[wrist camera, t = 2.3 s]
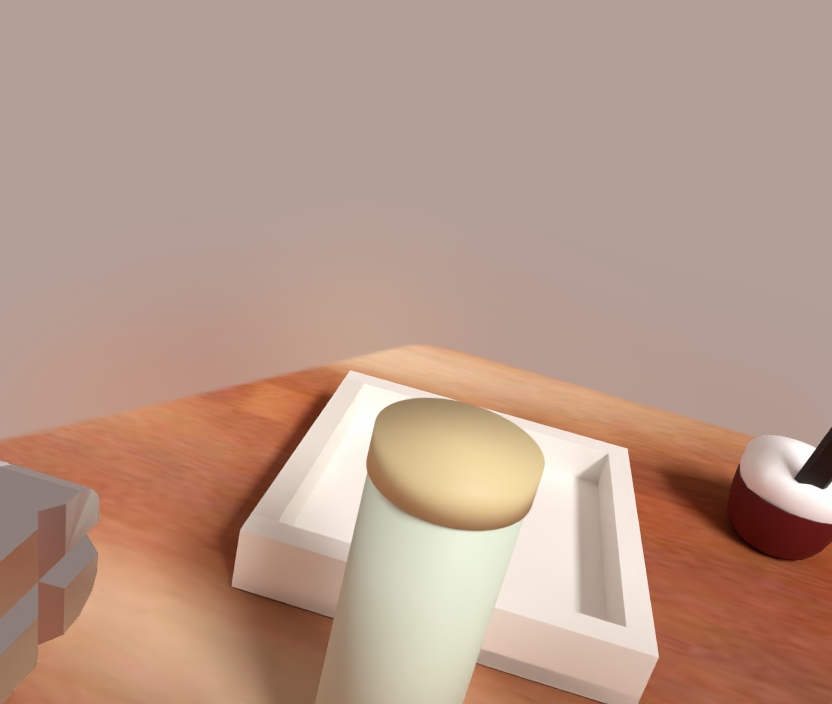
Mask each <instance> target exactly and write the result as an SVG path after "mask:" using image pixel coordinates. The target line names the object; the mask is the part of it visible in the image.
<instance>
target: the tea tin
mask: <svg viewBox="0 0 832 704" xmlns="http://www.w3.org/2000/svg"><path fill="white" fill-rule="evenodd" d="M544 467H545V459H544V456H543V453H542V451H541V449H540V447H539V446H538V444H537V443H536V442H535V440H534V439H533V438H532V437H531V436H530V435H529V434H527V433H526V432H525V431H524V430H523V429H521V428H520V427H519V426H517V425H516V424H514V423H513V422H511V421H509V420H508V419H506V418H504V417H502V416H500V415H498V414H496V413H493V412H491V411H489V410H486V409H483V408H481V407H478V406H475V405H471V404H468V403H464V402H460V401H454V400H449V399H441V398H412V399H406V400H401V401H398V402H395V403H392V404H390V405H388V406H387V407H385V408H384V409H383V410H381V411H380V413H379V414H378V415H377V417H376V420H375V423H374V428H373V432H372V437H371V441H370V446H369V450H368V454H367V460H366V468H367V475H366V479H365V484H364V488H363V493H362V497H361V501H360V506H359V510H358V515H357V519H356V523H355V528H354V532H353V537H352V541H351V545H350V550H349V554H348V559H347V563H346V568H345V572H344V576H343V581H342V585H341V590H340V594H339V598H338V603H337V607H336V612H335V616H334V620H333V625H332V629H331V634H330V638H329V642H328V647H327V651H326V656H325V660H324V664H323V669H322V673H321V678H320V682H319V686H318V691H317V695H316V700H315V704H463V701H464V698H465V695H466V692H467V689H468V686H469V683H470V680H471V677H472V674H473V671H474V668H475V665H476V662H477V659H478V656H479V653H480V650H481V647H482V644H483V641H484V638H485V635H486V632H487V629H488V626H489V623H490V620H491V617H492V614H493V611H494V608H495V604H496V601H497V598H498V595H499V592H500V589H501V586H502V583H503V580H504V577H505V574H506V571H507V568H508V565H509V562H510V559H511V556H512V553H513V550H514V547H515V544H516V541H517V538H518V535H519V532H520V529H521V526H522V523H523V520H524V517H525V516H526V515H527V514H528V513H529V511H530V509H531V507H532V504H533V501H534V498H535V495H536V492H537V489H538V486H539V483H540V480H541V477H542V474H543V471H544Z"/></svg>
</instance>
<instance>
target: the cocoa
mask: <svg viewBox="0 0 832 704" xmlns="http://www.w3.org/2000/svg"><path fill="white" fill-rule="evenodd" d="M728 515H729V518H730V521H731V523H732V525H733V526H734V528H735V530H736V532H737V533H738V534H739V535H740V536H741V538H742V539H744V540H745V541H746V542H747V543H748V544H749V545H750V546H752V547H753V548H755V549H757V550H759V551H761V552H762V553H764V554H766V555H769V556H772V557H775V558H779V559H792V560H803V559H806V558H809V557H811V556H813V555H815V554H817V553H819V552H821V551H822V550H823V549H824V548H825V547H826V546H827V545H828V544H830V543H831V541H832V428H831V429H830V430H829V432H828V433H827V434H826V436H825V437H824V439H823V440H822V441H821V443H820V444H819V445H818V447H817V448H815V447H813V446H811V445H808V444H806V443H803V442H801V441H798V440H795V439H791V438H787V437H782V436H778V435H777V436H772V435H765V434H764V435H762V436H759V437H757V438H755V439H753V440H750V441H749V443H748V445H747V447H746V449H745V452H744V454H743V456H742V458H741V461H740V464H739V465H738V468H737V470H736V473H735V476H734V478H733V482H732V486H731V491H730V496H729V502H728Z"/></svg>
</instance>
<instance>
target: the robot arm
mask: <svg viewBox="0 0 832 704" xmlns="http://www.w3.org/2000/svg"><path fill="white" fill-rule="evenodd" d="M98 522H99V496H98V495H97V494H96V492H95V491H94V490H93V489H92V488H89V487H86V486H83V485H79V484H76V483H73V482H70V481H66V480H63V479H60V478H57V477H53V476H50V475H47V474H44V473H40V472H37V471H34V470H31V469H28V468H24V467H21V466H18V465H15V464H12V465H11V464H9V463H6V462H3V461H0V704H3V703H4V701H5V700H6V699H7V698H8V697H9V696H10V695H11V694H12V692H13V691H14V690H15V689H16V688H17V687H18V686H19V684H20V683H21V682H22V681H23V680H24V679H25V678H26V677H27V675H28V674H29V673H30V672H31V671H32V670H33V669H34V667H35V666H36V665H37V659H38V645H39V644H41V643H44V642H46V641H49V640H51V639H53V638H56V637H58V636H61V635H63V634H64V633H65V632H66V631H67V629H68V628H69V627H70V626H71V625H72V623H73V622H74V621H75V620H76V619H77V617H78V616H79V615H80V613H81V611H82V609H83V607H84V605H85V603H86V601H87V599H88V597H89V595H90V593H91V591H92V588H93V584H94V580H95V576H96V572H97V560H98V552H97V551H96V549H95V547H94V546H93V544H92V542H91V541H90V539H89V537H88V536H87V533H88V532H89V531H90V530H91V529H92V528H93V527H94V526H95V525H96V524H97V523H98Z"/></svg>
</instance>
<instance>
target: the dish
mask: <svg viewBox="0 0 832 704" xmlns="http://www.w3.org/2000/svg"><path fill="white" fill-rule="evenodd" d="M412 398H441V399H449V400H453V399H450V398H446V397H443V396H439V395H436V394H432V393H429V392H425V391H421V390H418V389H414V388H411V387H407V386H404V385H400V384H397V383H393V382H390V381H386V380H383V379H379V378H375V377H372V376H368V375H365V374H361V373H358V372H354V371H351V370H350V372H349V373H348V375H347V376H346V378H345V379H344V380H343V382H342V383H341V385H340V386H339V388H338V389H337V391H336V392H335V393H334V395H333V396H332V398H331V399H330V401H329V402H328V403H327V405H326V406H325V408H324V409H323V411H322V412H321V414H320V415H319V416H318V418H317V419H316V421H315V422H314V424H313V425H312V427H311V428H310V429H309V431H308V432H307V434H306V435H305V437H304V438H303V440H302V441H301V442H300V444H299V445H298V447H297V448H296V450H295V451H294V453H293V454H292V455H291V457H290V458H289V460H288V461H287V463H286V464H285V466H284V467H283V468H282V470H281V471H280V473H279V474H278V476H277V477H276V479H275V480H274V481H273V483H272V484H271V486H270V487H269V489H268V490H267V492H266V493H265V494H264V496H263V497H262V499H261V500H260V502H259V503H258V504H257V506H256V507H255V509H254V510H253V512H252V513H251V515H250V516H249V517H248V519H247V520H246V522H245V523H244V525H243V526H242V528H241V529H240V534H239V540H238V547H237V553H236V560H235V566H234V572H233V579H232V585H231V586H232V587H235V588H238V589H241V590H245V591H248V592H251V593H254V594H257V595H261V596H264V597H267V598H270V599H273V600H277V601H280V602H283V603H286V604H289V605H293V606H296V607H299V608H302V609H305V610H309V611H312V612H315V613H318V614H321V615H325V616H328V617H331V618H334V616H335V612H336V607H337V603H338V598H339V594H340V590H341V585H342V581H343V576H344V572H345V568H346V563H347V559H348V554H349V550H350V545H351V541H352V537H353V532H354V528H355V523H356V519H357V515H358V510H359V506H360V501H361V497H362V493H363V488H364V484H365V479H366V475H367V468H366V460H367V454H368V450H369V446H370V441H371V437H372V432H373V428H374V423H375V420H376V417H377V415H378V414H379V413H380V411H381V410H383V409H384V408H385V407H387V406H388V405H390V404H392V403H395V402H398V401H401V400H406V399H412ZM454 401H457V400H454ZM481 408H482V407H481ZM483 409H485V408H483ZM486 410H489V409H486ZM489 411H491V412H493V413H496V414H498V415H500V416H502V417H504V418H506V419H508V420H509V421H511V422H513V423H514V424H516V425H517V426H519V427H520V428H521V429H523V430H524V431H525V432H526V433H527V434H529V435H530V436H531V437H532V438H533V439H534V440H535V442H536V443H537V444H538V446H539V447H540V449H541V451H542V453H543V456H544V459H545V467H544V471H543V474H542V477H541V480H540V483H539V486H538V489H537V492H536V495H535V498H534V501H533V504H532V507H531V509H530V511H529V513H528V514H527V515H526V516H525V517H524V520H523V523H522V526H521V529H520V532H519V535H518V538H517V541H516V544H515V547H514V550H513V553H512V556H511V559H510V562H509V565H508V568H507V571H506V574H505V577H504V580H503V583H502V586H501V589H500V592H499V595H498V598H497V601H496V604H495V608H494V611H493V614H492V617H491V620H490V623H489V626H488V629H487V632H486V635H485V638H484V641H483V644H482V647H481V650H480V653H479V656H478V659H477V662H476V663H478V664H481V665H484V666H487V667H491V668H494V669H497V670H500V671H503V672H507V673H510V674H513V675H516V676H519V677H523V678H526V679H529V680H532V681H535V682H539V683H542V684H545V685H548V686H551V687H555V688H558V689H561V690H564V691H567V692H571V693H574V694H577V695H580V696H583V697H587V698H590V699H593V700H596V701H599V702H603V703H606V704H638V702H639V700H640V698H641V695H642V693H643V691H644V689H645V687H646V684H647V682H648V680H649V678H650V676H651V673H652V671H653V669H654V667H655V665H656V662H657V660H658V658H659V656H658V649H657V642H656V636H655V629H654V622H653V616H652V609H651V603H650V596H649V589H648V583H647V576H646V569H645V563H644V556H643V549H642V543H641V536H640V529H639V523H638V516H637V509H636V503H635V496H634V489H633V483H632V476H631V469H630V463H629V456H628V449H627V448H623V447H619V446H616V445H612V444H609V443H605V442H602V441H598V440H595V439H591V438H588V437H584V436H581V435H577V434H574V433H570V432H566V431H563V430H559V429H556V428H552V427H549V426H545V425H542V424H538V423H535V422H531V421H528V420H524V419H520V418H517V417H513V416H510V415H506V414H503V413H499V412H496V411H492V410H489Z"/></svg>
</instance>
